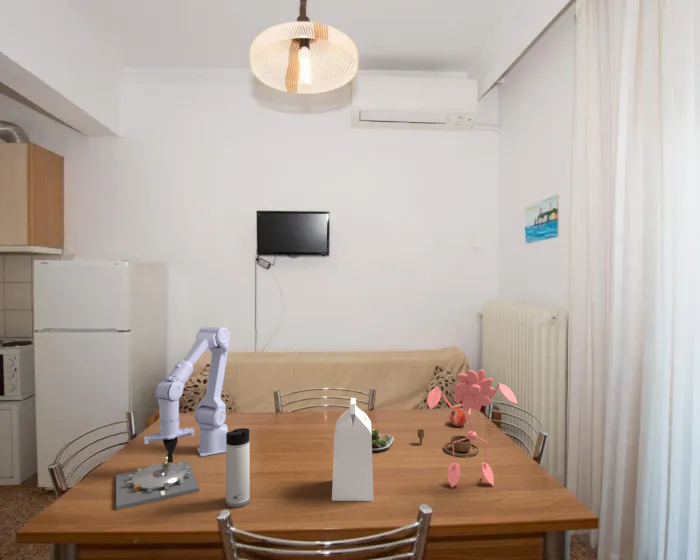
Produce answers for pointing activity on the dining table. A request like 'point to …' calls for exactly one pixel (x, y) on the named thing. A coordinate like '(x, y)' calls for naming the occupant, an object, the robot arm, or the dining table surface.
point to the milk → (352, 457)
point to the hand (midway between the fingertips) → (170, 461)
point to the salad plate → (380, 441)
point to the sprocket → (158, 476)
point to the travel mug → (237, 468)
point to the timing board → (133, 498)
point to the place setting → (455, 444)
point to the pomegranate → (458, 417)
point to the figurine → (472, 394)
